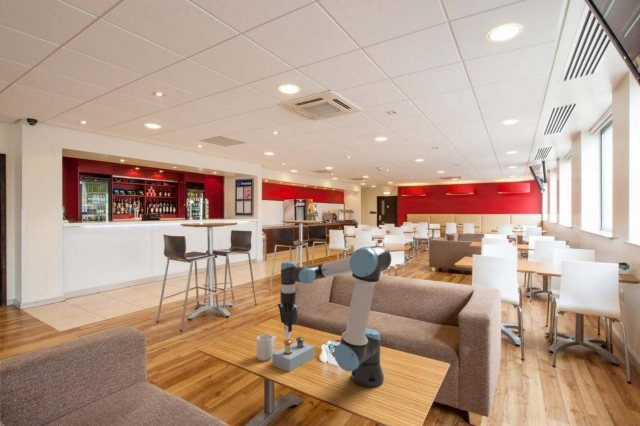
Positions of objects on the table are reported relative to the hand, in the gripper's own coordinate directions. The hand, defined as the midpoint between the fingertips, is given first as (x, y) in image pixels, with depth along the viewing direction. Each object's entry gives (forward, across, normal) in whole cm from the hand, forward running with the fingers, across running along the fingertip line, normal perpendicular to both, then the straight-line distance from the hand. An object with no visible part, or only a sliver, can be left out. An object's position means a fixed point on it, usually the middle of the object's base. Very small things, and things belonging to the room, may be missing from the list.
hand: (288, 337), depth 165 cm
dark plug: (+13, 0, -10) cm, 16 cm away
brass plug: (+11, 0, 0) cm, 11 cm away
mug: (+14, +16, 0) cm, 21 cm away
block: (+14, 0, -5) cm, 15 cm away
